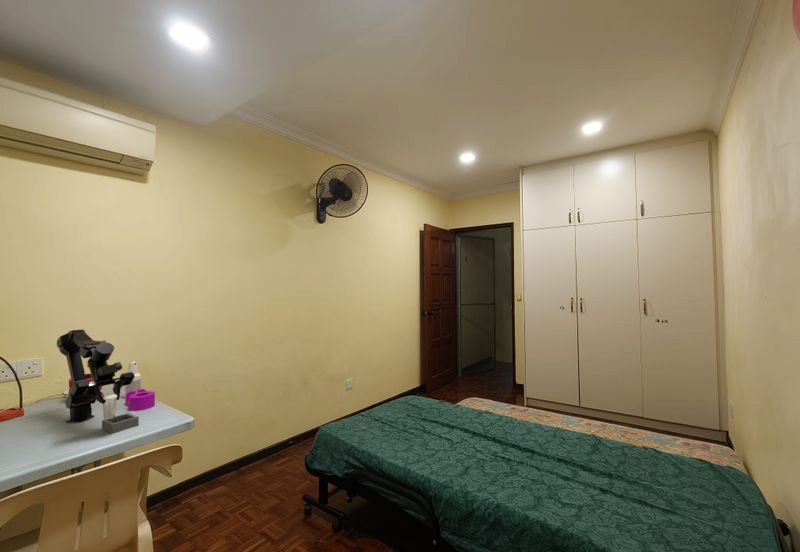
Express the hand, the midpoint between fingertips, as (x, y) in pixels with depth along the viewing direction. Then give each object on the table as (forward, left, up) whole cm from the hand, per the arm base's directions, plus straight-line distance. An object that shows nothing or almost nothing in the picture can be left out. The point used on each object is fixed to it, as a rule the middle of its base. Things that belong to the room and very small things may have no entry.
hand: (111, 401), depth 136 cm
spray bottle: (-25, +46, -13) cm, 54 cm away
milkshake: (-1, +1, -7) cm, 7 cm away
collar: (-2, +7, -13) cm, 15 cm away
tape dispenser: (-12, +32, -13) cm, 37 cm away
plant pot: (-46, +43, -13) cm, 64 cm away
